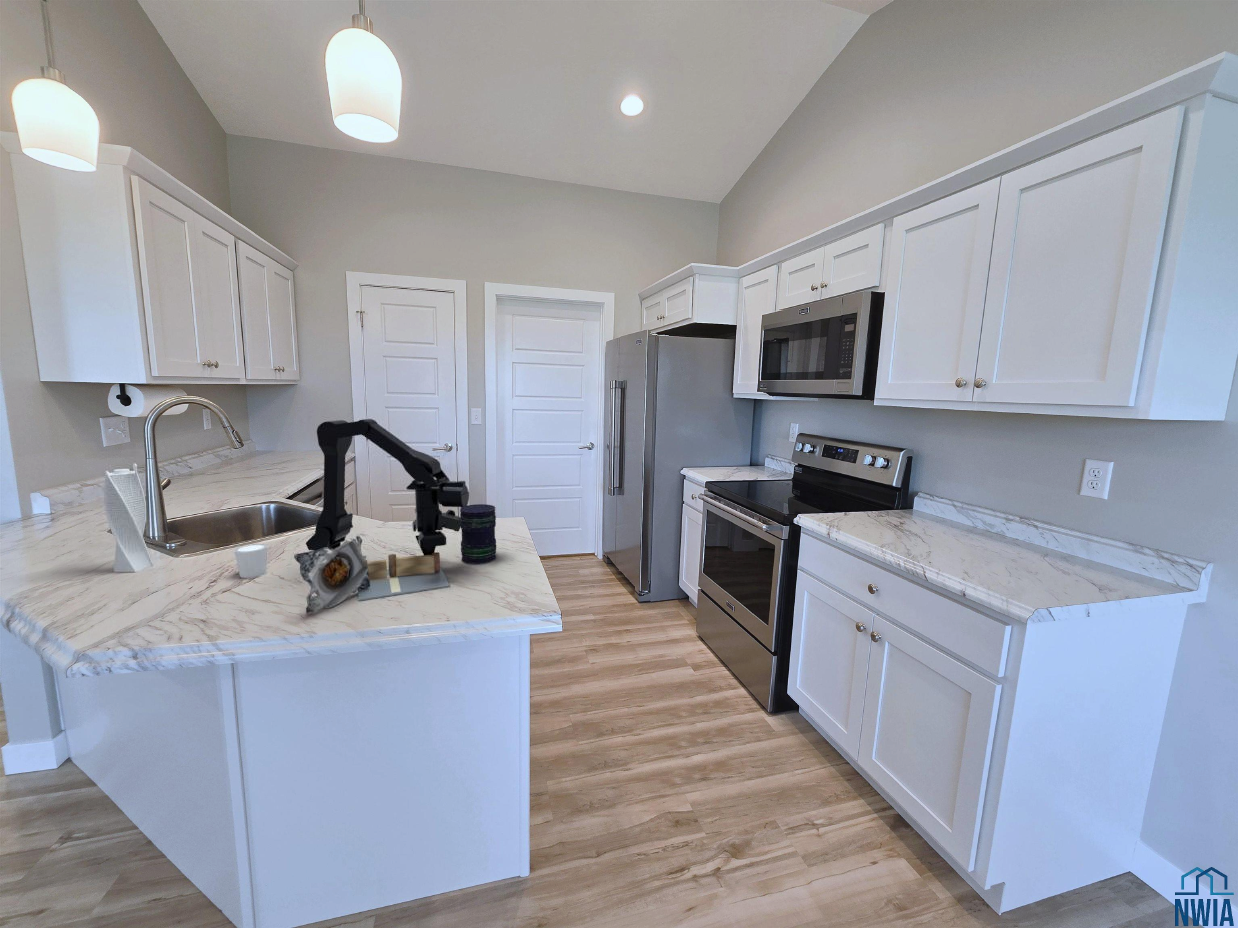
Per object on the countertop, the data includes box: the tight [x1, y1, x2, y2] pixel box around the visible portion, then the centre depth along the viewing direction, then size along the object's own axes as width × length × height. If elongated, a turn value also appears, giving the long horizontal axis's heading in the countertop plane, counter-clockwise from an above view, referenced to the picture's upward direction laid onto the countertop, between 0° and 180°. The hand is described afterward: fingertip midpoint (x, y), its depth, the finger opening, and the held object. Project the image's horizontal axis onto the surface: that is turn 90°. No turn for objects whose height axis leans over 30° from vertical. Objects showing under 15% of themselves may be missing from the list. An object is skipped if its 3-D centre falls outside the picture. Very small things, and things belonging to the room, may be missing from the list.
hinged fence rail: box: [387, 551, 441, 577], centre depth 130 cm, size 12×2×5 cm, turn 108°
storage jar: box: [459, 503, 497, 565], centre depth 144 cm, size 10×10×15 cm
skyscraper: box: [103, 463, 154, 573], centre depth 130 cm, size 8×8×28 cm
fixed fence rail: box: [365, 559, 388, 581], centre depth 126 cm, size 6×2×5 cm, turn 118°
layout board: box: [357, 565, 451, 602], centre depth 127 cm, size 20×18×1 cm
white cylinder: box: [234, 543, 268, 579], centre depth 129 cm, size 7×7×7 cm
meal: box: [293, 535, 370, 614], centre depth 114 cm, size 15×4×13 cm, turn 161°
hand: (429, 563), depth 134 cm, fingers closed
